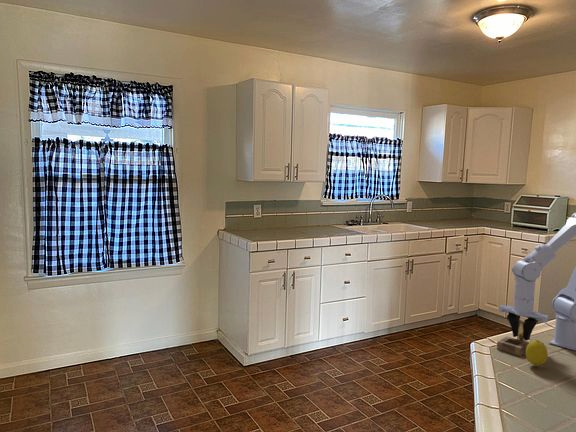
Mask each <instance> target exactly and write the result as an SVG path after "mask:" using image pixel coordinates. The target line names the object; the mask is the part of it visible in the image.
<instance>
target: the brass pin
mask: <svg viewBox="0 0 576 432" xmlns="http://www.w3.org/2000/svg"><path fill="white" fill-rule="evenodd" d="M516 339H518V340H522V341H525V342H526V340H525V320H524V319H520V320H518V329H517V336H516Z"/></svg>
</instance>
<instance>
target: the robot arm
mask: <svg viewBox="0 0 576 432" xmlns="http://www.w3.org/2000/svg"><path fill="white" fill-rule="evenodd" d="M575 237H576V212H574V213H573V214H572V215H571V216H570V217H569V218H567V219H566V221H565V224H564V225H563V226H562V227H561V228H560V230H558V231H557V232H556V234H554V235H553V237H552V238H551V239H550V240H549V241H548V242H547V243H545V244H543V243H541V244H539V245H535V247H534V250H532V251H531V252H530V253H529V254H528V255H527V256H524V258H523V259H521V260H518V261H517V262H515V263H514V265H513V267H512V268H511V270H512V272H511V273H512V274H513V275H514V280H515V281H514V283H515V284H514V292H513V293H514V295H513V306H510V305H504V304H501V305H499V308H498V312H501V313H506V314H508V315H506V319H507V321H508V322H509V325H510V328H511V331H512V338H517V329H518V320H521V317H523V318H526V319H524V321H525V341H529V340H531V339H530V338H531V335H532V333H533V330H534V329H535V327H536V325H537V324H538V323H539V321H540V322H542V323H544V324H547V323H548V322H549V315H547V314H543V313H540V312H538V311H534V306H535V305H534V303H535V294H536V293H535V291H536V280H537V279H539V278H540V276H541V273H542V271H543V269H544V268H545V267H546V266H548V264H549V263H551V261H553V260H554V259H555V258H556V252H557V251H558V250H560V248H562V247H564V245H566V244H567V243H568V242H569V241H571V240H572V239H573V238H575ZM571 273H572V274H571V276H570V278H569V280H568V282H567V285H566V287H564V288H562V289H560V290H559V291H558V293H557V295H556V296H554V298H553V299H552V300H551V308H552V310H553V311H554V315H555V324H554V338H553V339H551V340H550V341H549V342H548V343H549V344H551V345H554V346H558V347H561V348H565V349H568V350H573V351H576V265H575V267H574V269H573V271H572V272H571Z"/></svg>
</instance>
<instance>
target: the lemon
mask: <svg viewBox="0 0 576 432" xmlns="http://www.w3.org/2000/svg"><path fill="white" fill-rule="evenodd" d="M525 357H526V360H527V361H528V362H529V363H530V364H531V365H533V367H535V368H537V367H538V366H543V365H544V364H545V363H546V362H547V359H548V349H547V347H546V345H545V344H544V342H542V341H540V340H539V339H536V340H532V341H530V342H529V344H528V345H527V348H526V352H525Z"/></svg>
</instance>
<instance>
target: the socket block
mask: <svg viewBox="0 0 576 432" xmlns="http://www.w3.org/2000/svg"><path fill="white" fill-rule="evenodd" d="M529 343H530V342H529V341H526V340H525V341H522V340H518V339H517V338H516V337H512V336H505V337H503V338H501V339H499V340H497V345H496V350H499V351H503V352H506V353H509V354H512V355H515V356H519V357H520V356H522V355H524V354H526V348H527V345H528V344H529Z"/></svg>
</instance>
